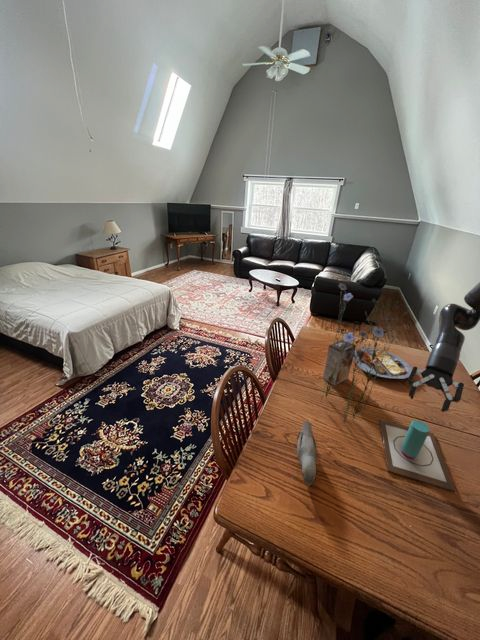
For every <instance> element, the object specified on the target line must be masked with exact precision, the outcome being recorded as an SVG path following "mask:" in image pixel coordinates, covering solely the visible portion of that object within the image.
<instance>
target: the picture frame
mask: <svg viewBox="0 0 480 640" xmlns="http://www.w3.org/2000/svg"><path fill="white" fill-rule="evenodd" d="M379 427H380V433H381V439H382V445H383V451H384V452H383V453H384V458H385V465H386V470H387V473H391V474H393V475H397V476H400V477H403V478H406V479H410V480H413V481H416V482H418V483H419V482H420V483H423V484H425V485H429V486H432V487H436V488H439V489H441V490H444V491H449V492H451V493H456V489H455V486H454V483H453V480H452V478H451V475H450V474H449V471H448V467H447V465H446V462H445V460H444V457H443V455H442V452H441V450H440V447H439V445H438V441H437V440H436V437H435V434H434V433H432V432H429V433H428V435H427V437H426V440H425V442H424V444H423V446H422V448H421V450H420V452H419V454H418V456H417V457H415V458H414V459H409V458H406V457H405V456H404V455H403V454H402V452H401V446H402V443H403V441H404V439H405V436H406V434H407V432H408V429H409V427H410V426H406V425H402V424H398V423H394V422H391V421H388V420H383V419H379Z"/></svg>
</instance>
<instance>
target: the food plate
mask: <svg viewBox="0 0 480 640" xmlns="http://www.w3.org/2000/svg"><path fill="white" fill-rule="evenodd" d="M367 348H369V349H368V350H367ZM359 349H361V352H362V353H360V350H359ZM362 349H363V350H362ZM364 349H365V350H364ZM358 350H359V351H358ZM366 350H367V351H366ZM386 350H387V348H385V351H384V349H379V348H375V352H376V351H377V352H376V353H375V354H376V355H374V357H375V359H374V360H373V361H372V355H373V352H374V348H373V347H364V348H363V347H360V348H356V350H355V357H356V361H355V358H354V356H353V360H354V363H355V364H356V363H357V364H356V365H357V367H358V366H359V365H360V363H361V362H362V363H361V366H360V370H362V371H364V372H365V373H367V370H368V373H369V371H370V367H371V364H370V362H369V361H370V360H371V362H372V367H371V370H372V368H373V366H374V368H373V370H372V371H371V372H370V375H371V374H372V373H373V374H372V375H374V376H376V375H377V376H376V377H381V378H385V379H396V380H405V379H408V378H409V375H410V373H411V371H412V369H413V368H412V367H411V365H410V364H409V363H408V362H407V361H406V360H404V359H403V358H402V357H400V356H398V355H396V354H394V353H391V352H389V351H388V350H387V351H386ZM357 351H358V352H357ZM365 351H366V352H365ZM364 352H365V353H364ZM385 352H386V353H385ZM363 353H364V354H363ZM356 354H357V355H356ZM384 354H385V355H384ZM362 355H363V357H362V358H361V360H360V358H359V357H361V356H362ZM383 356H384V357H383ZM369 357H370V359H369ZM381 357H382V358H381ZM366 359H367V360H366ZM382 359H383V360H382ZM357 361H358V362H357ZM367 361H368V363H369V365H370V367H369V365H368V363H367ZM381 361H383V362H382V363H381ZM379 364H381V365H380V367H379ZM365 367H366V368H365ZM378 367H379V370H378ZM366 369H367V370H366ZM376 369H377V370H378V373H377V374H376V375H375V370H376ZM368 373H367V374H368Z"/></svg>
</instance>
